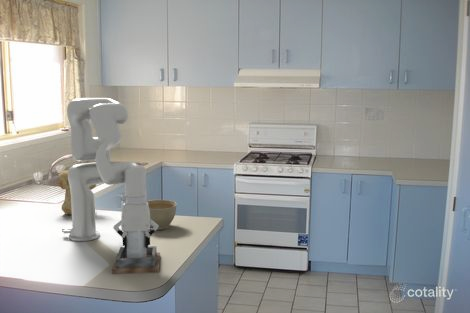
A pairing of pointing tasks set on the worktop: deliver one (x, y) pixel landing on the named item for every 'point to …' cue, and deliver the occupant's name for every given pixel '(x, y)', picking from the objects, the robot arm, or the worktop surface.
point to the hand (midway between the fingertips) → (136, 246)
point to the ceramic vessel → (67, 191)
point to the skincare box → (136, 244)
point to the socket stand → (136, 262)
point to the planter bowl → (162, 212)
